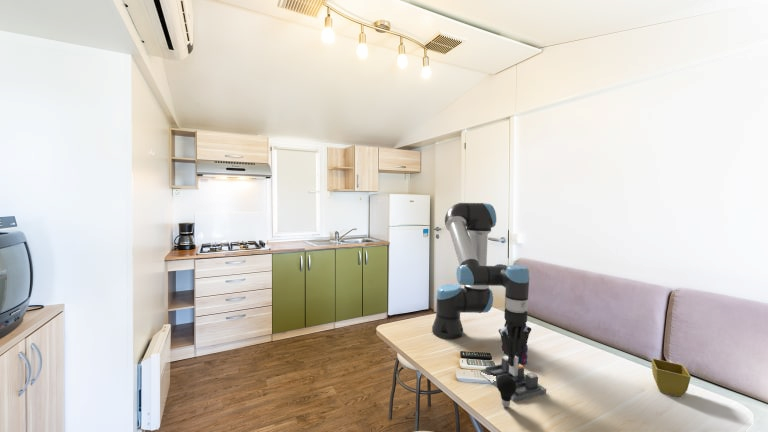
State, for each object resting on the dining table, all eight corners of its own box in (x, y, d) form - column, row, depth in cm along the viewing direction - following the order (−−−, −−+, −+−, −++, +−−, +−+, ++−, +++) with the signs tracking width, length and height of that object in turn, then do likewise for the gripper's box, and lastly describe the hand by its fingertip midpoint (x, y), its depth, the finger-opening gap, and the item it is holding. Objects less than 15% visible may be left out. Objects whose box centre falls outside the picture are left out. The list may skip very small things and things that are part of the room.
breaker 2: (525, 385, 107) (525, 373, 106) (532, 383, 108) (532, 371, 107) (530, 389, 104) (531, 376, 104) (537, 387, 105) (538, 375, 105)
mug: (523, 366, 122) (524, 350, 122) (498, 357, 129) (499, 341, 129) (529, 360, 127) (530, 344, 127) (505, 352, 134) (505, 337, 133)
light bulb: (492, 401, 100) (493, 371, 100) (509, 400, 101) (511, 370, 100) (500, 413, 95) (502, 381, 94) (519, 412, 95) (520, 381, 95)
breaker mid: (512, 376, 112) (512, 364, 112) (518, 374, 113) (519, 363, 113) (517, 379, 110) (517, 367, 110) (523, 378, 111) (524, 366, 111)
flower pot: (689, 403, 102) (691, 376, 101) (654, 393, 106) (656, 368, 106) (681, 389, 109) (683, 365, 109) (649, 381, 114) (651, 357, 113)
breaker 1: (501, 367, 118) (501, 356, 118) (507, 366, 119) (508, 355, 119) (505, 370, 116) (506, 359, 115) (512, 369, 117) (512, 358, 116)
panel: (480, 373, 116) (480, 367, 116) (510, 367, 121) (510, 362, 121) (513, 401, 100) (513, 394, 100) (546, 393, 105) (546, 387, 105)
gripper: (508, 315, 104) (506, 382, 105) (538, 311, 108) (535, 376, 109) (494, 307, 111) (491, 371, 112) (522, 304, 115) (519, 365, 116)
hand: (513, 373), depth 111 cm, fingers closed
